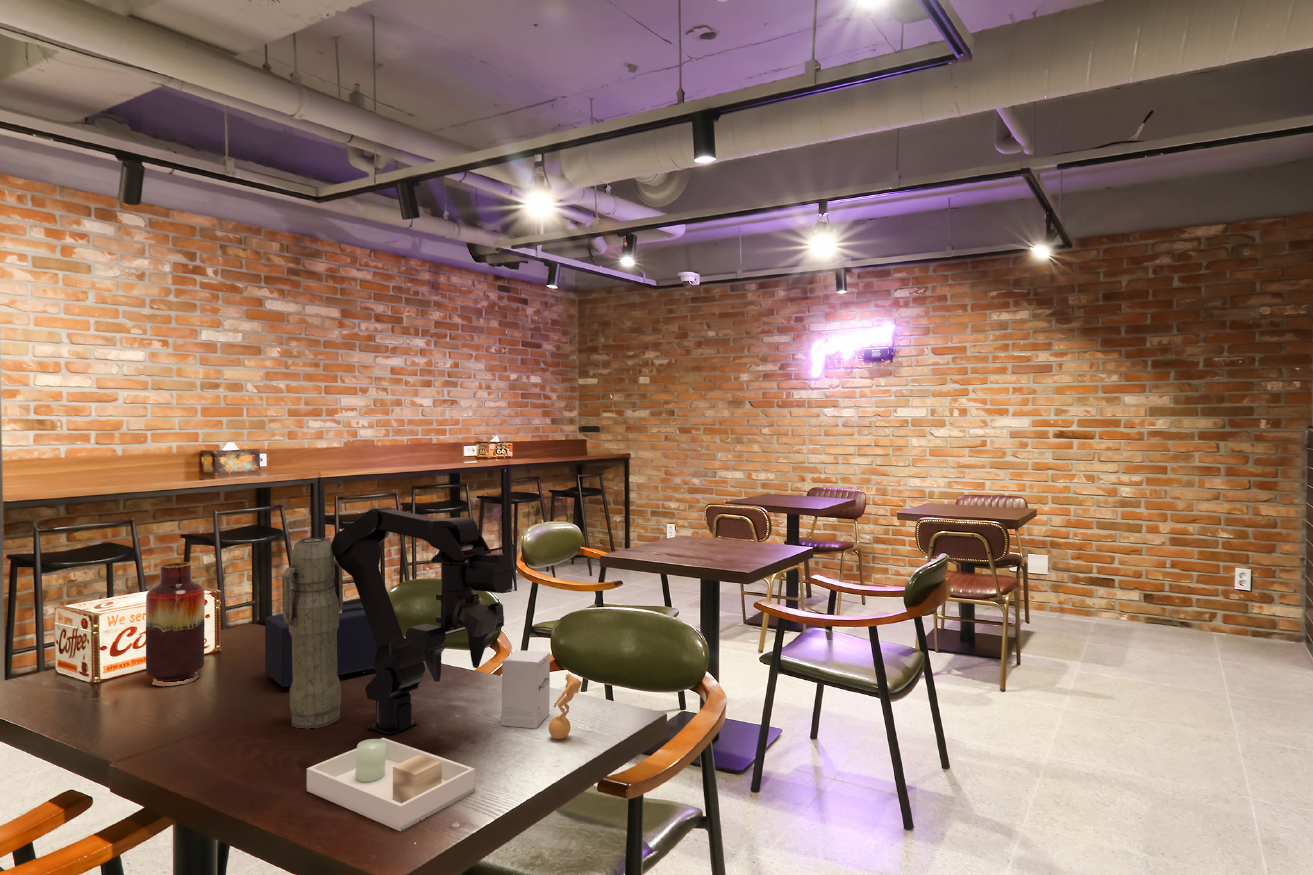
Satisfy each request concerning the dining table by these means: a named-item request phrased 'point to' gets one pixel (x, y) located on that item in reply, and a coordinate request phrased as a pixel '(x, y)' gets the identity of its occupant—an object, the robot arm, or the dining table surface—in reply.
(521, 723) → the supplement box
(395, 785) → the beech cube
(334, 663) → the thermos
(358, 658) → the speaker
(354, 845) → the dining table surface
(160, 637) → the vase
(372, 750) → the green cylinder
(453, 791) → the bin
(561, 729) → the figurine
